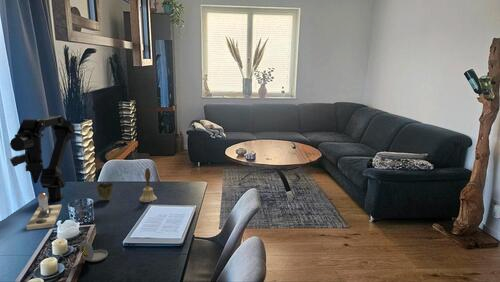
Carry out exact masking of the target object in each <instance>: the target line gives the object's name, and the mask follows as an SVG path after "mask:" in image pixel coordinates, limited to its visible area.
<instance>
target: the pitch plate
mask: <svg viewBox="0 0 500 282" xmlns="http://www.w3.org/2000/svg"><path fill="white" fill-rule="evenodd" d="M62 206H63V205H62V204H51V205H48V209H49V211H50V210H51V214H50V216H49V217H40V218H38V214H39V213H40V210H39V206H38V207H37V209H36V210H35V212H34V213H33V215H32V217H31V218H30V220H29V221H28V223H27V225H26V231H29V230H30V231H31V230H38V229H45V228H53V227H54V226H55V223H56V221H57V219H58V217H59V215H60V212H61V210H62Z"/></svg>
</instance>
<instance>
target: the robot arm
mask: <svg viewBox="0 0 500 282" xmlns="http://www.w3.org/2000/svg"><path fill="white" fill-rule="evenodd" d="M49 127H51V129H52V131H54V132H53V134H54V137H55V142H54V145H53V146H54V147H53V150H52V153H51V155H50V160H49V163H48V166H47V167H46V168H44V163H43V162H44V161H43V154H42V153H43V152H42V151H43V149H42V137H43V138H44V134H43V133H41V132H43V131H45V130H46V128H49ZM75 130H76V129H75V126H74V125H73V123H72V122H71V121H69V120H67V119H66V118H65V117H64V116H63V115H51V116H46V117H43V118H42V117H41V118H38V119H37V118H25V119H23V120H22V122H21V123H20V126H19V128H18V130H17V133H15V134H14V137H13V138H12V139H11V140H10V143H9V146H10V148H11V150H12V151H15V152H21V151H24V153H23V154H19V155H16V156H12V157H11V158H9V161H10V163H11V164H12V166H13V167H17V166H18V165H22V164H23V163H25V172H29V173H30V175H31V178H32V182H33V184H37V183H38V181H39V183H40V184H41V185H40V186H41V188H42V189H47V199H48V202H60V201H62V200H63V199H64V198H65V197H66V195H65V194H62V188H65V186H66V183H67V182H66V180H65V178H63V173H62V170H61V166H62V163H63V159H64V156H65V151H66V148H67V143H69V141H70V140H71V139H72V138H73V136H74V134H75V132H76V131H75Z"/></svg>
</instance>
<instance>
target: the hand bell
mask: <svg viewBox="0 0 500 282" xmlns="http://www.w3.org/2000/svg"><path fill="white" fill-rule="evenodd" d="M144 179H145V182H146V183H145V187H144V188H143V190H142V195H141V196H140V197H139V198H138V199H139V201H140V202H141V203H151V201H152V202H155V201H157V198H158V197H157V196H156V195H155V194H154V190H153V187H151V186H150V185H151V184H150V183H151V182H150V179H151V171H150V168H149V167H147V168H146V169H145V172H144ZM154 200H155V201H154Z"/></svg>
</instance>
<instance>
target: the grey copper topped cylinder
mask: <svg viewBox="0 0 500 282" xmlns="http://www.w3.org/2000/svg"><path fill="white" fill-rule="evenodd" d="M37 201H38V207H39V210H40V213H39V214H38V218H40V217H49V216H50V214H51V210H50V211H49V209H48V206H49V201H48V194H47V193H45V192H41V193H40V194H38V200H37Z"/></svg>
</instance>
